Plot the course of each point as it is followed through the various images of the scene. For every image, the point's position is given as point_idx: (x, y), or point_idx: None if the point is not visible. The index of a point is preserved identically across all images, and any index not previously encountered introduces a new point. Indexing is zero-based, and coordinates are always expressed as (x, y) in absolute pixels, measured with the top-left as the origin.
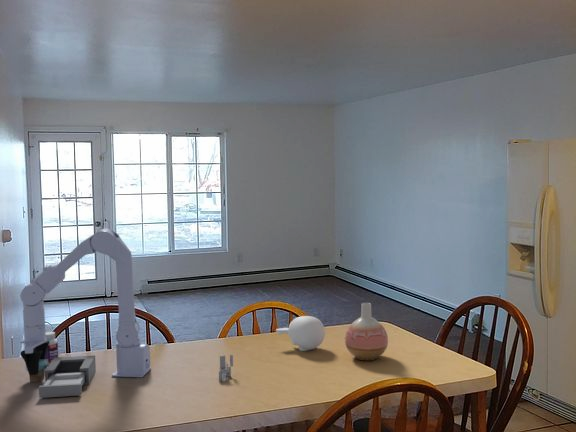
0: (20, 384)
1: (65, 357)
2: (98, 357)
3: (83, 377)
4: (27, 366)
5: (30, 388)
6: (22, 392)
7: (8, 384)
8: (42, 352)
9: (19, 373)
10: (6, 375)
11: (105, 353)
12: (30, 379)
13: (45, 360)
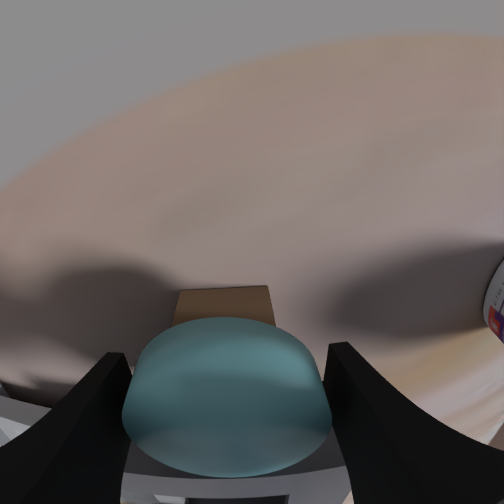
0: (133, 237)
1: (344, 490)
2: (464, 425)
3: (127, 502)
4: (61, 405)
5: (72, 323)
6: (17, 296)
7: (137, 136)
8: (358, 491)
9: (413, 144)
10: (383, 50)
11: (486, 421)
12: (177, 307)
13: (268, 470)
